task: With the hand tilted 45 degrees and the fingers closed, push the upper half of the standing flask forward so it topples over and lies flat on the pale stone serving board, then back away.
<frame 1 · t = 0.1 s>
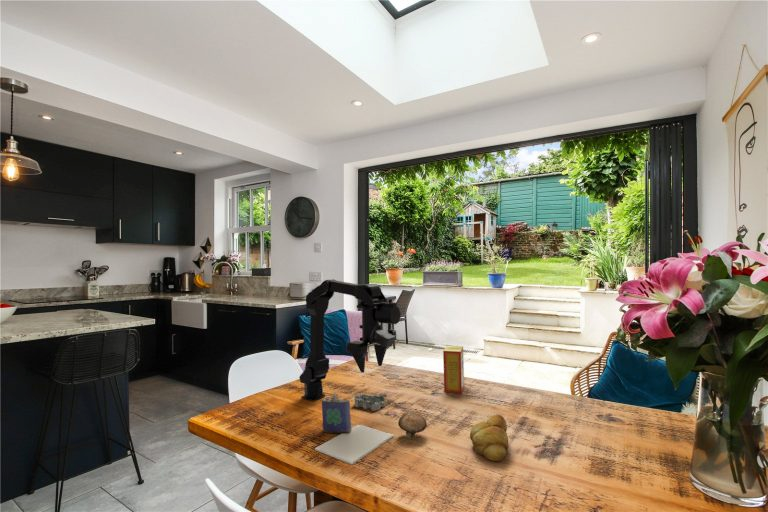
hand: (371, 369, 124), 15 cm above the table, tool pointing down, fingers open, 9 cm apart
egg carton: (369, 406, 131), on the table
bread roll: (489, 452, 97), on the table
flask: (336, 432, 110), on the table, touching serving board
serving board: (355, 443, 103), on the table
mushroom: (412, 437, 107), on the table
baking soda box: (454, 389, 147), on the table
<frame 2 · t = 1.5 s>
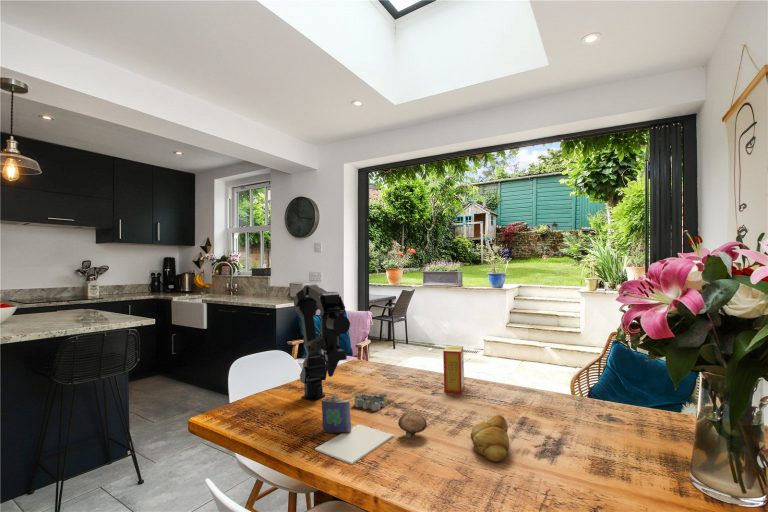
hand: (330, 376, 126), 12 cm above the table, tool pointing down, fingers closed
nothing on the table moved.
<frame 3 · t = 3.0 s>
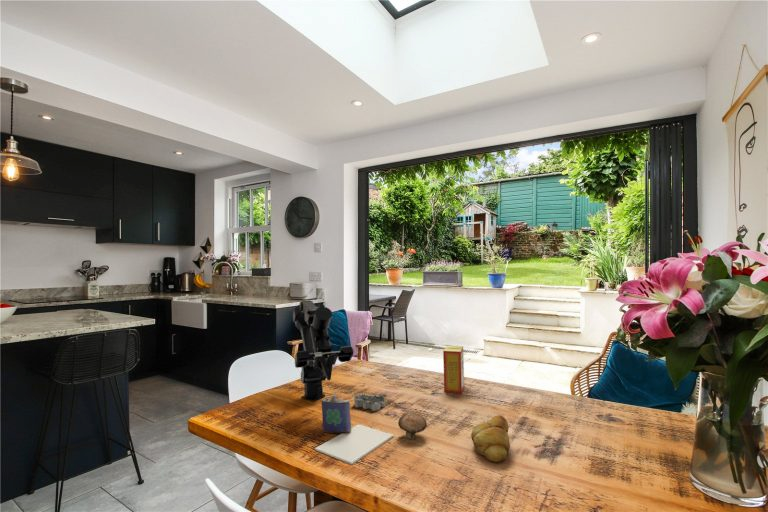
hand: (329, 379, 118), 13 cm above the table, tool tilted 45°, fingers closed
nothing on the table moved.
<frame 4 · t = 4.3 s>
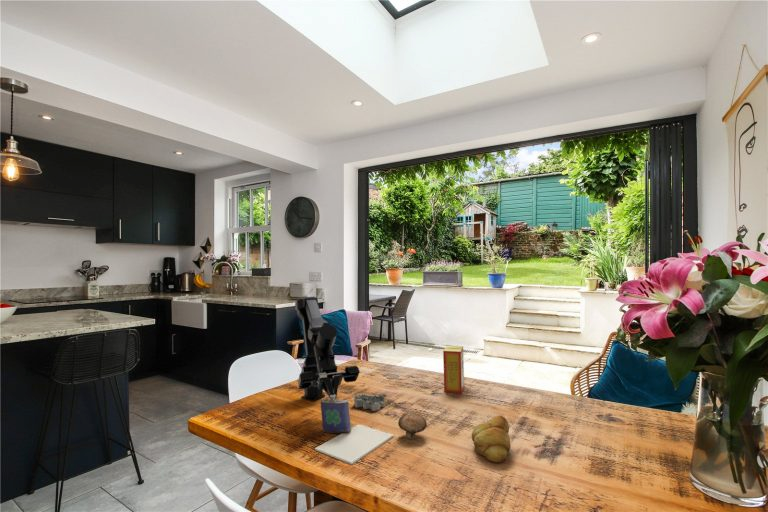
hand: (334, 402, 113), 8 cm above the table, tool tilted 45°, fingers closed
nothing on the table moved.
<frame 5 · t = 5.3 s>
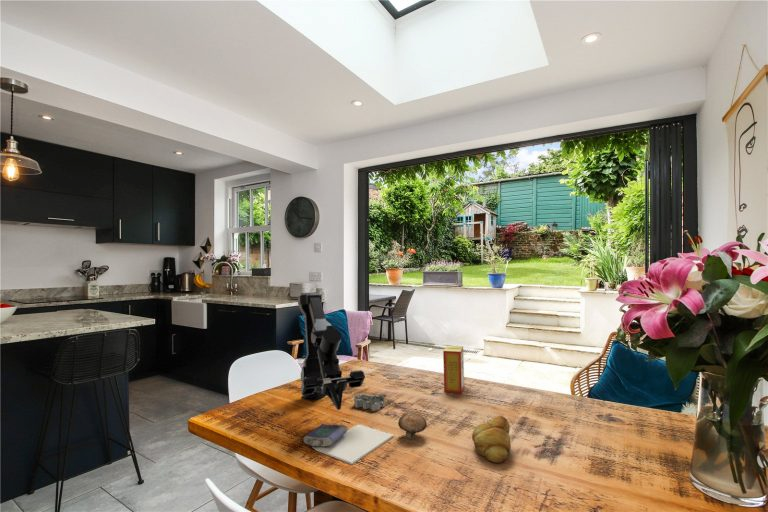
hand: (339, 409, 108), 8 cm above the table, tool tilted 45°, fingers closed
flask: (333, 428, 109), point 2 cm above the table, touching serving board
everything else where it was.
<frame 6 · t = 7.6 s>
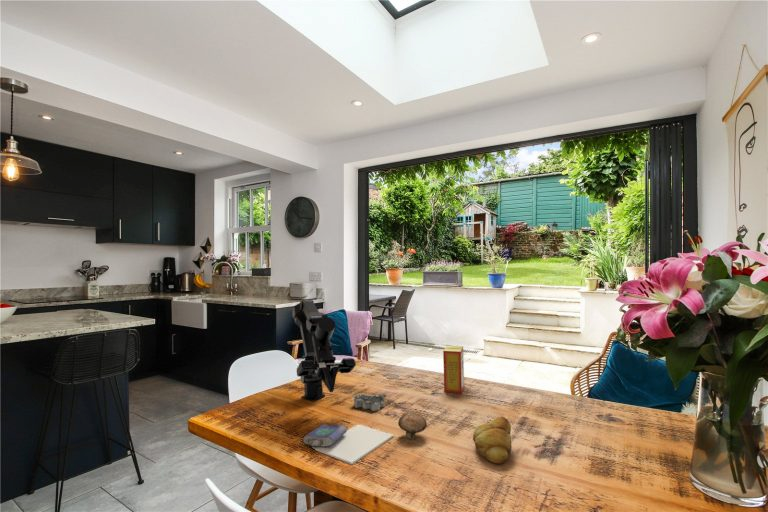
hand: (331, 391, 118), 10 cm above the table, tool tilted 40°, fingers closed
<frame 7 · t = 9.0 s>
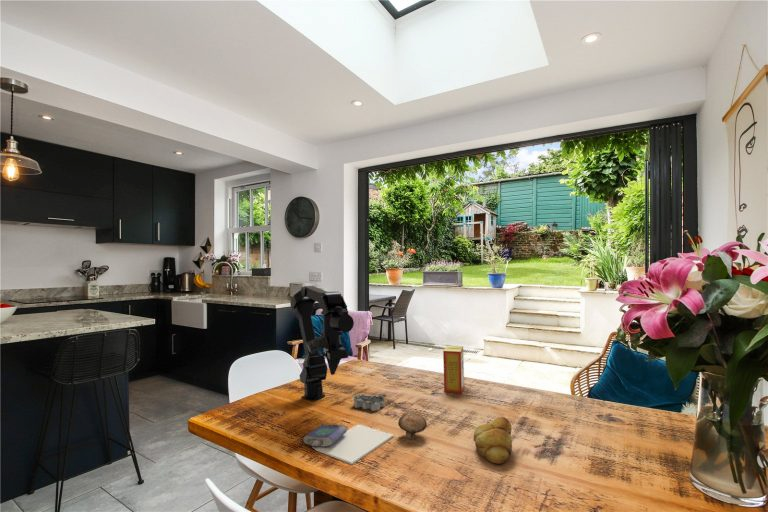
hand: (332, 374, 128), 12 cm above the table, tool pointing down, fingers closed
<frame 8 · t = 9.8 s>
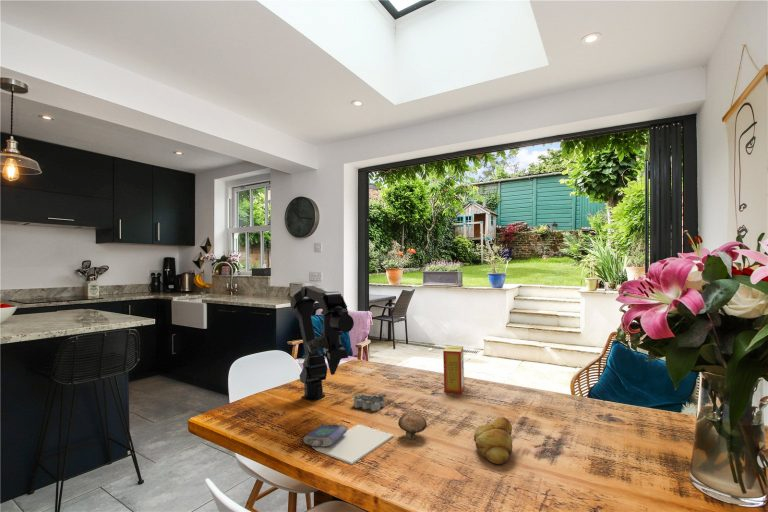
hand: (332, 374, 128), 12 cm above the table, tool pointing down, fingers closed
at the end: flask tilted 88°; flask inside the target area (8.8 cm from its centre), point 1.6 cm above the table; the gripper is holding nothing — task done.
